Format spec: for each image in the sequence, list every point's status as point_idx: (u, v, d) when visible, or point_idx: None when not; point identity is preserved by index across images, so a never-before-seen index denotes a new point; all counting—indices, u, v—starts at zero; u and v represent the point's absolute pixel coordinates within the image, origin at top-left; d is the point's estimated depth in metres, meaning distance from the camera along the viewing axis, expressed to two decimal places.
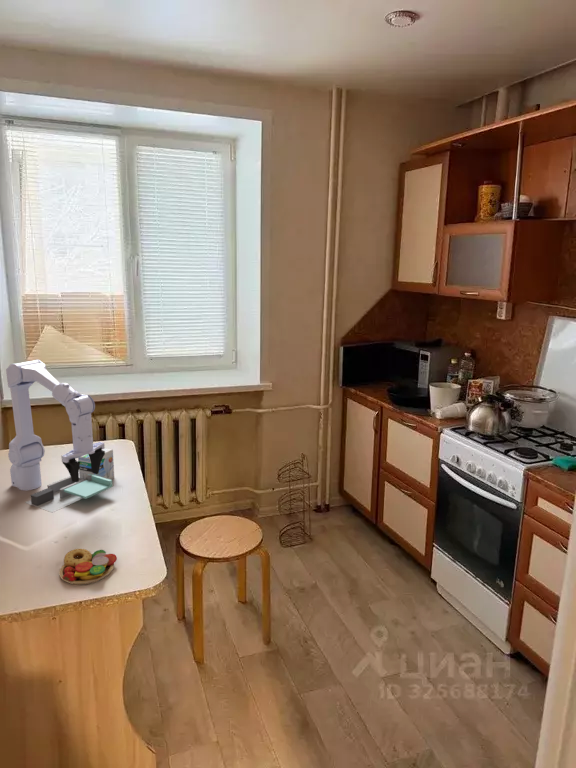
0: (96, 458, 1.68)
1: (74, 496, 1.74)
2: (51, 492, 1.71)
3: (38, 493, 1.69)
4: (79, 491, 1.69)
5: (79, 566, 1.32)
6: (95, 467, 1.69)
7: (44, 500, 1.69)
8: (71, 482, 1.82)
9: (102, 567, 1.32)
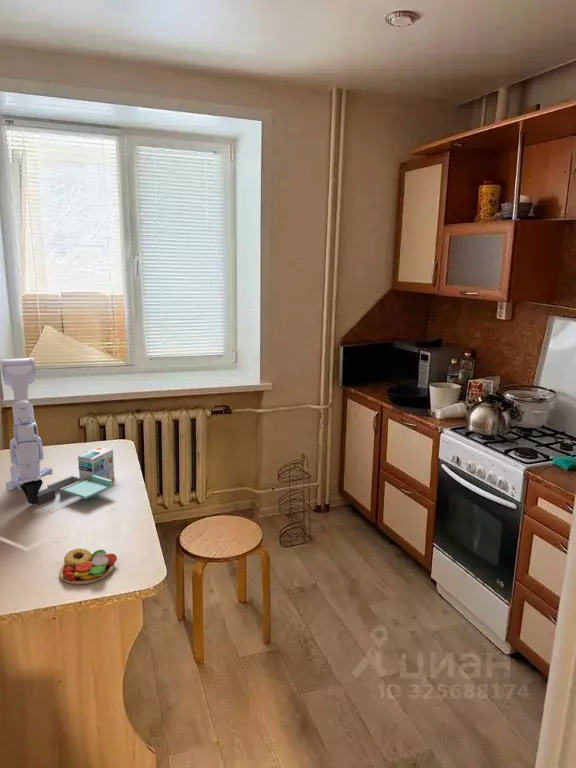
0: None
1: (74, 496, 1.74)
2: (53, 491, 1.72)
3: (39, 492, 1.70)
4: (79, 491, 1.69)
5: (79, 566, 1.32)
6: None
7: (46, 499, 1.70)
8: (71, 482, 1.82)
9: (102, 567, 1.32)
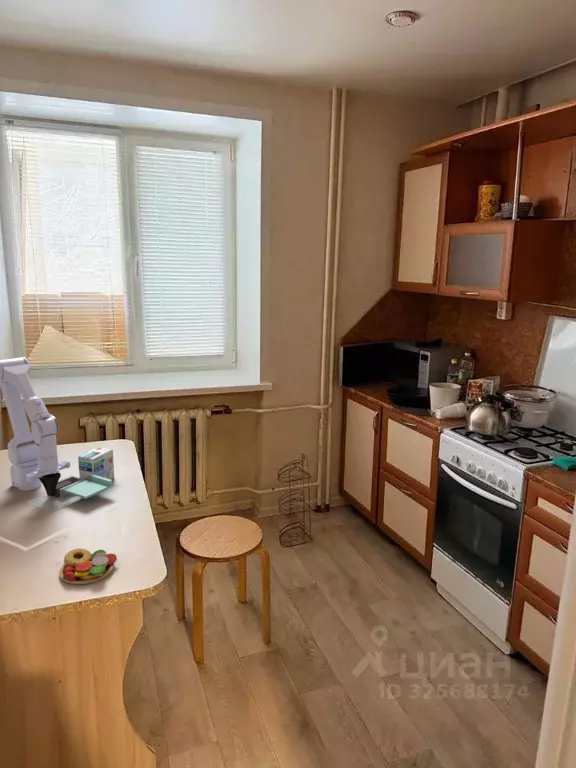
0: None
1: (74, 496, 1.74)
2: None
3: (58, 485, 1.76)
4: (79, 491, 1.69)
5: (79, 566, 1.32)
6: None
7: None
8: None
9: (102, 567, 1.32)
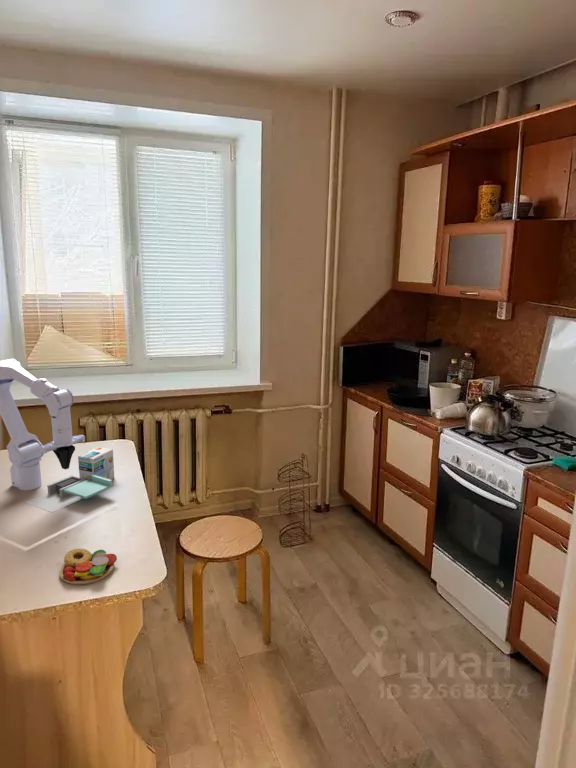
0: None
1: (74, 496, 1.74)
2: None
3: (63, 483, 1.77)
4: (79, 491, 1.69)
5: (79, 566, 1.32)
6: None
7: None
8: None
9: (102, 567, 1.32)
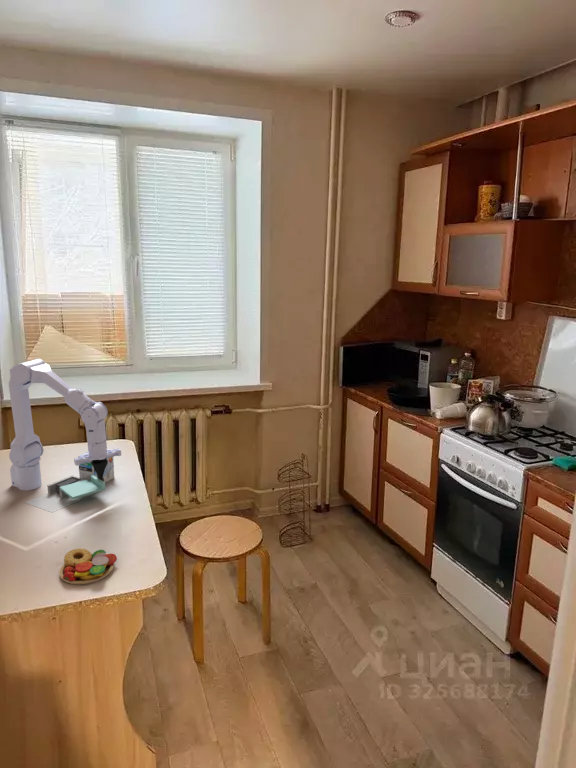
0: None
1: None
2: None
3: (63, 483, 1.77)
4: (71, 490, 1.69)
5: (79, 566, 1.32)
6: (99, 475, 1.74)
7: None
8: None
9: (102, 567, 1.32)
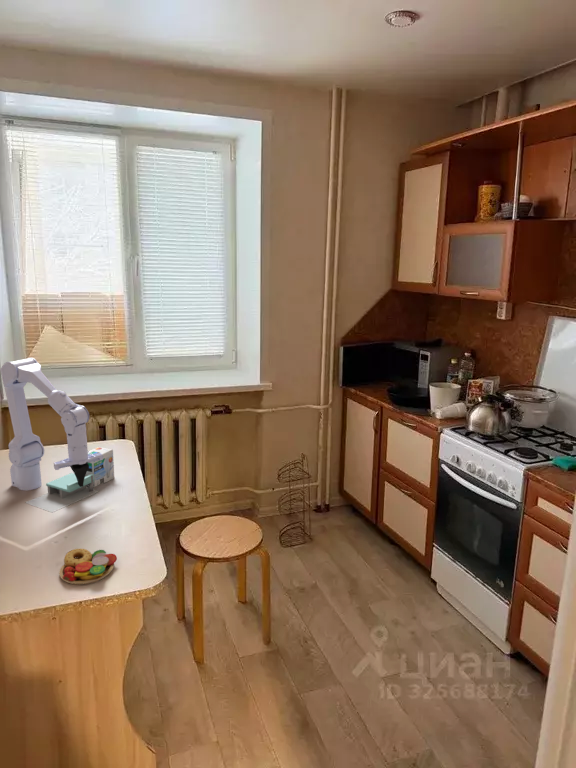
0: None
1: (74, 496, 1.74)
2: None
3: None
4: (61, 479, 1.78)
5: (79, 566, 1.32)
6: None
7: None
8: None
9: (102, 567, 1.32)
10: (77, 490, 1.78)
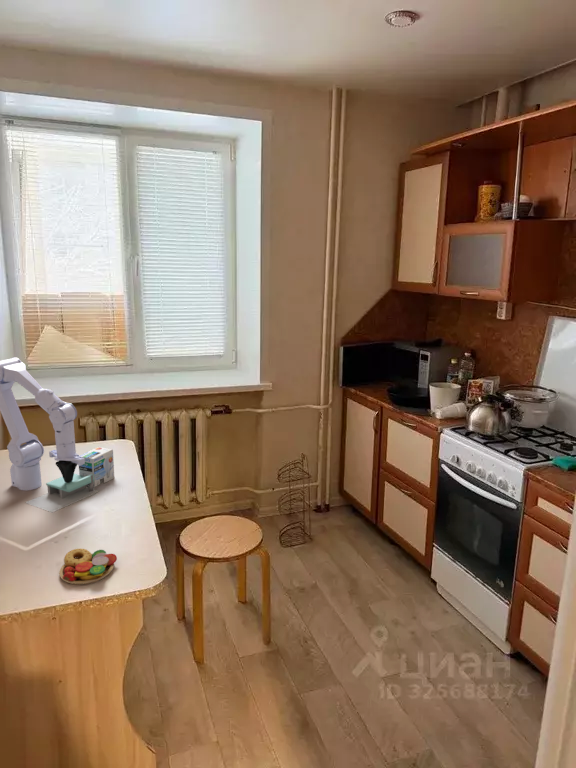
0: None
1: (74, 496, 1.74)
2: None
3: None
4: (61, 479, 1.78)
5: (79, 566, 1.32)
6: None
7: None
8: None
9: (102, 567, 1.32)
10: (77, 490, 1.78)
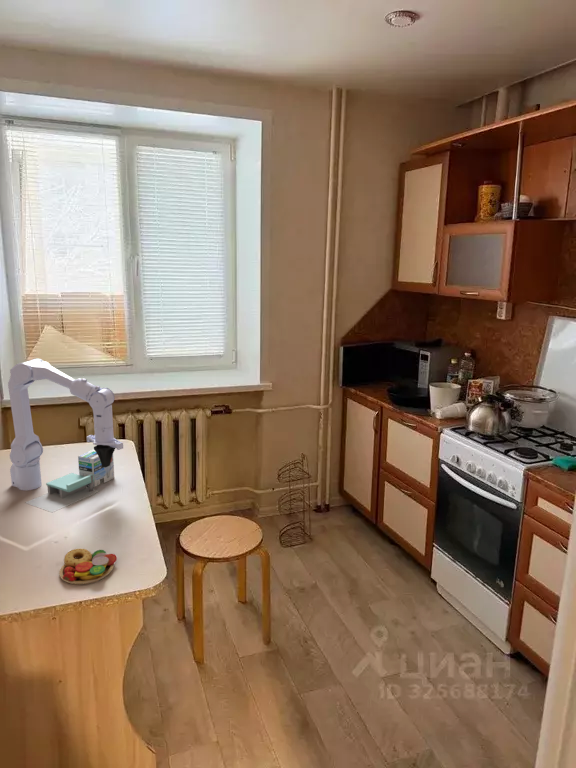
0: None
1: (74, 496, 1.74)
2: None
3: None
4: (61, 479, 1.78)
5: (79, 566, 1.32)
6: None
7: None
8: None
9: (102, 567, 1.32)
10: (77, 490, 1.78)
